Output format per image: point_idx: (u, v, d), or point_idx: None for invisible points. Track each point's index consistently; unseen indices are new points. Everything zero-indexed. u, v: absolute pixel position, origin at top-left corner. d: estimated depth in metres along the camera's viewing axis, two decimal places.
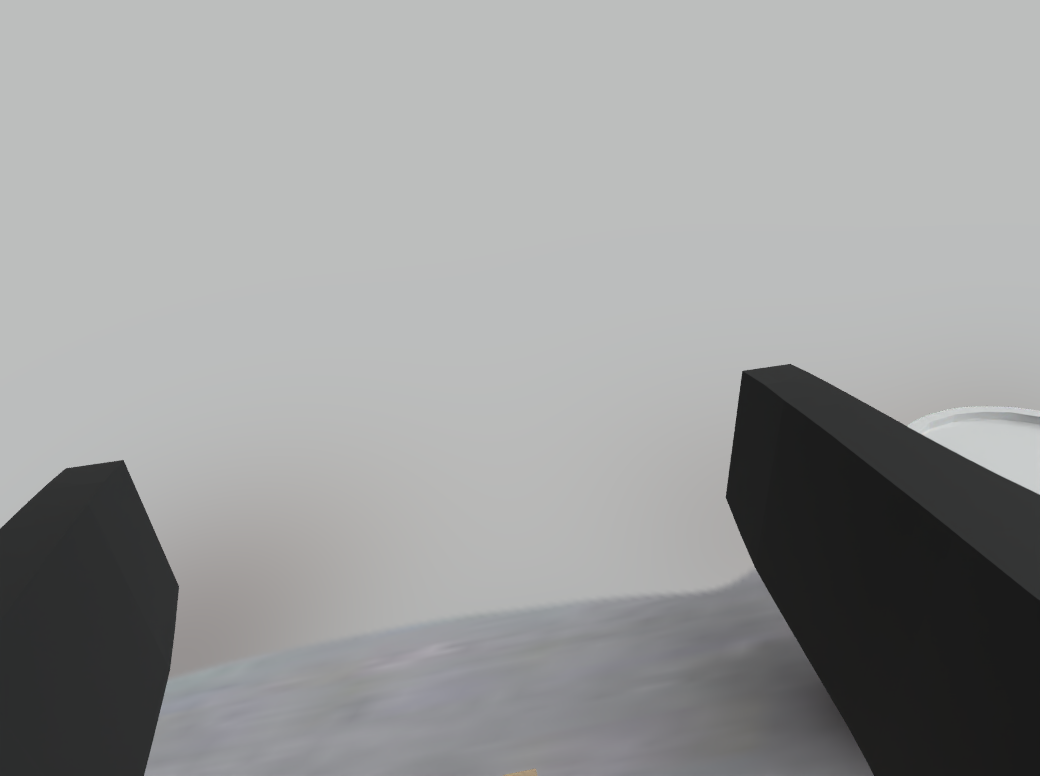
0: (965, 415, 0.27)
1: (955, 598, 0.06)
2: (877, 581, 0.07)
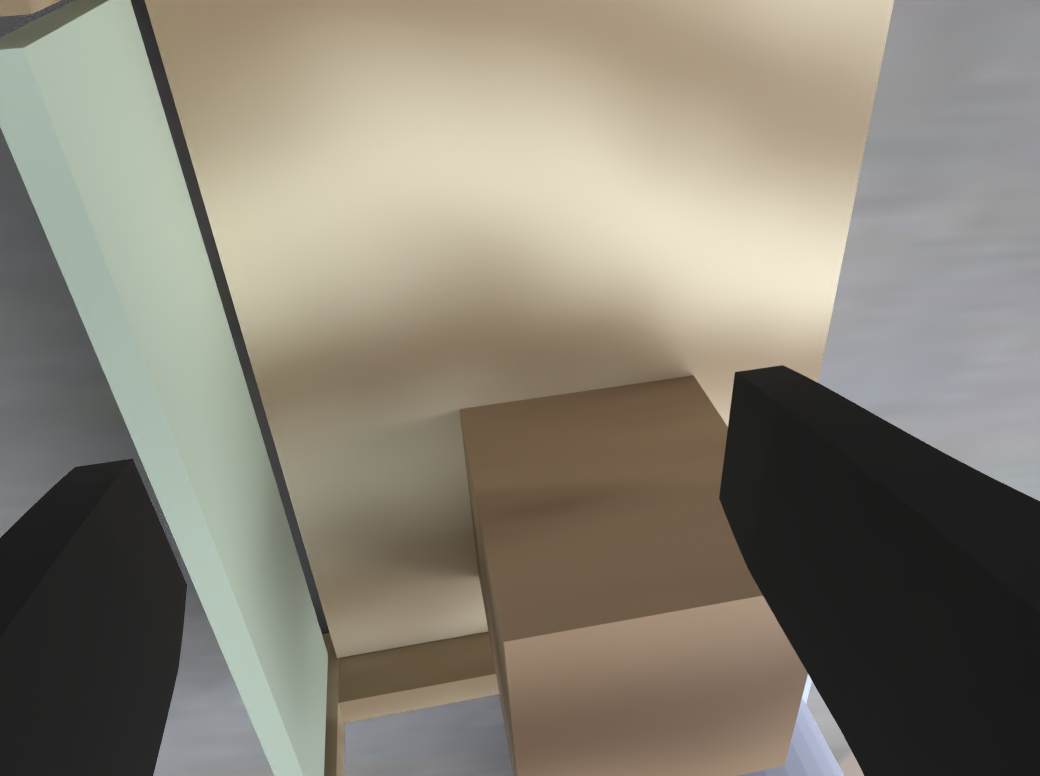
0: None
1: (944, 600, 0.06)
2: (867, 584, 0.07)
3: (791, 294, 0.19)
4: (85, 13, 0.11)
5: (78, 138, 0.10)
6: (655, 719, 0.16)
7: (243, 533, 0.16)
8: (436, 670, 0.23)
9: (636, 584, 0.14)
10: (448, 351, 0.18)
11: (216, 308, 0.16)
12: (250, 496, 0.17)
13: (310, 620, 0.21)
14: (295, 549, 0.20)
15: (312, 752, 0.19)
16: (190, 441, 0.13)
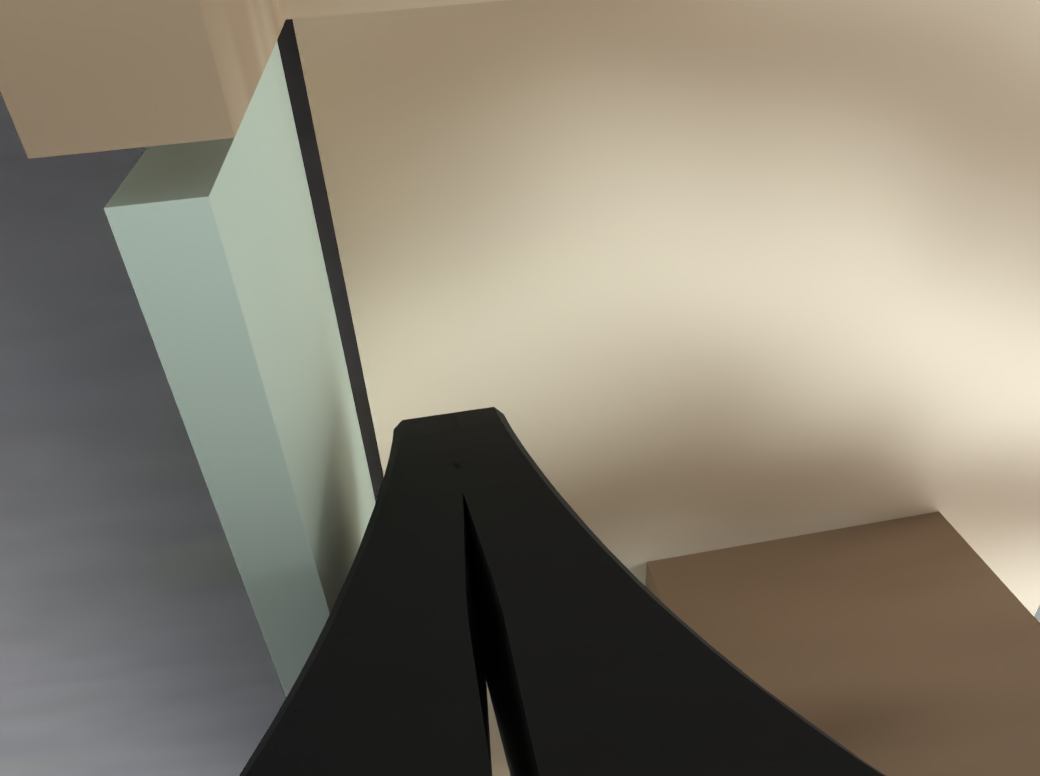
0: None
1: (512, 680, 0.06)
2: (497, 650, 0.07)
3: None
4: (253, 94, 0.07)
5: (266, 324, 0.06)
6: None
7: None
8: None
9: None
10: (645, 496, 0.14)
11: (363, 466, 0.12)
12: None
13: None
14: None
15: None
16: None
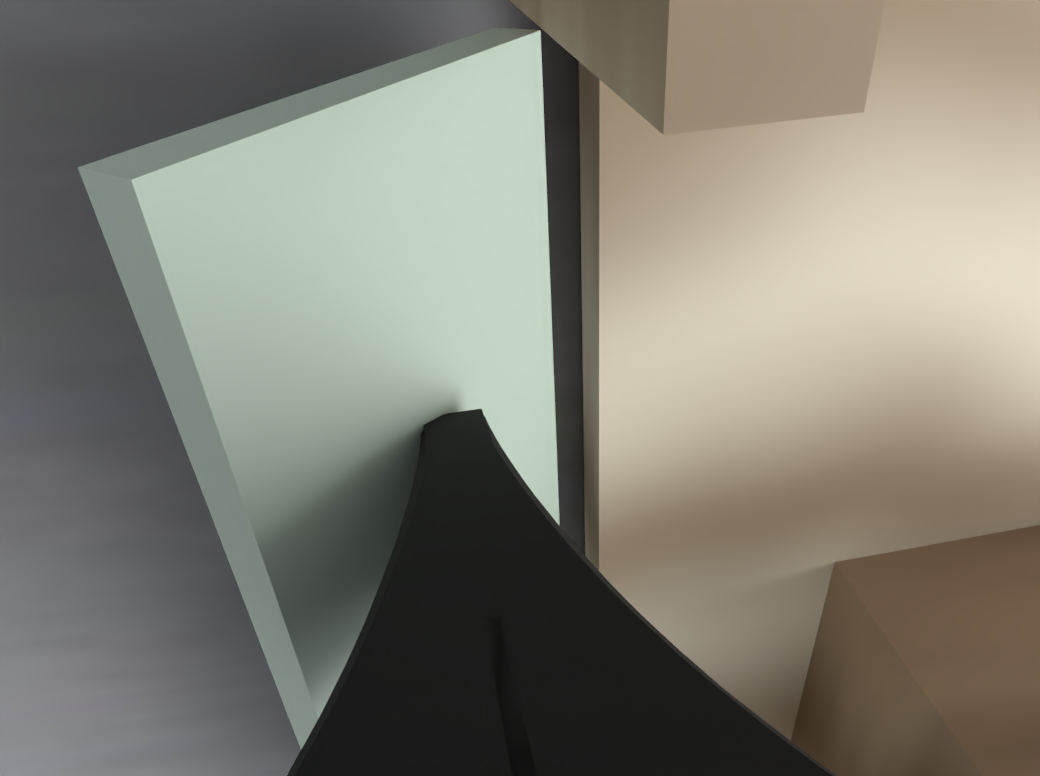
0: None
1: None
2: None
3: None
4: (389, 85, 0.07)
5: (253, 306, 0.06)
6: None
7: None
8: None
9: None
10: (846, 495, 0.14)
11: (538, 470, 0.11)
12: None
13: None
14: None
15: None
16: None
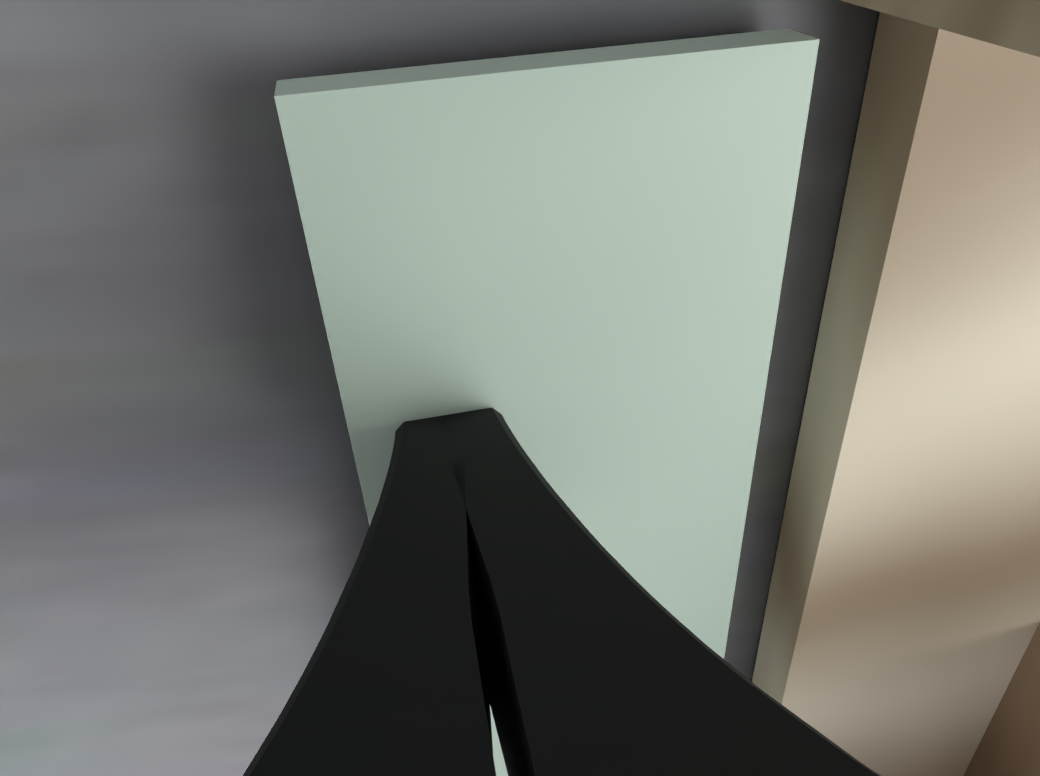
0: None
1: (509, 681, 0.06)
2: (494, 651, 0.07)
3: None
4: (565, 66, 0.07)
5: (370, 223, 0.07)
6: None
7: None
8: None
9: None
10: None
11: (713, 505, 0.11)
12: None
13: None
14: None
15: None
16: None
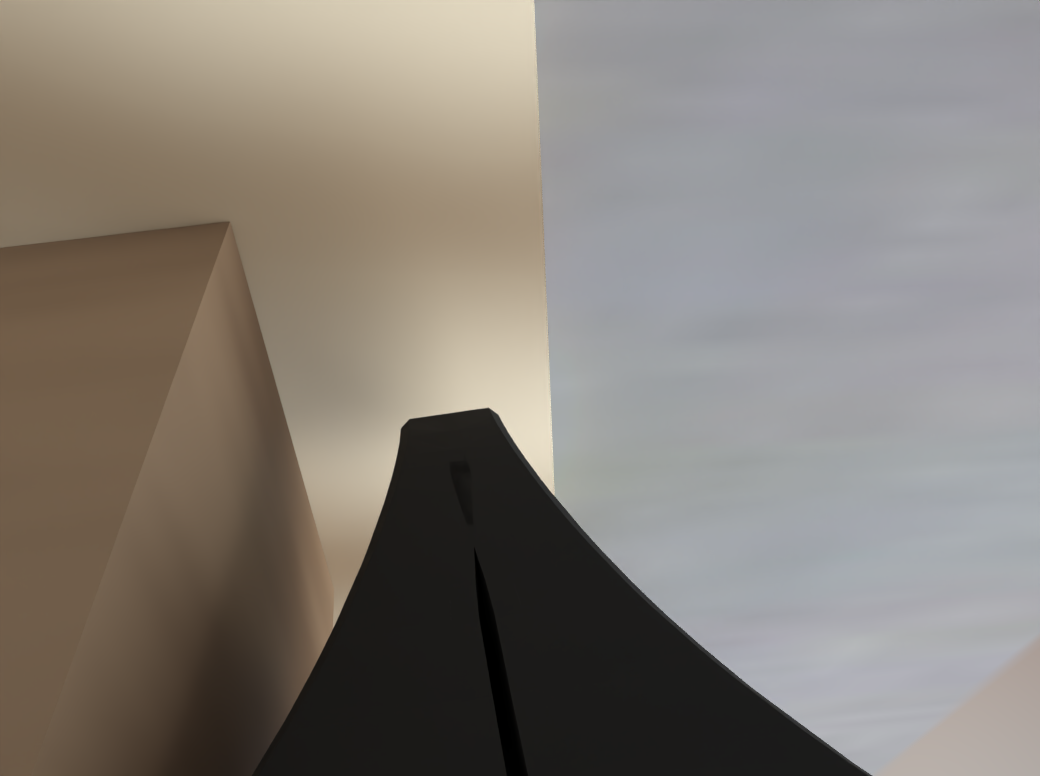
0: None
1: (504, 681, 0.06)
2: (490, 651, 0.07)
3: (417, 4, 0.08)
4: None
5: None
6: None
7: None
8: None
9: None
10: None
11: None
12: None
13: None
14: None
15: None
16: None
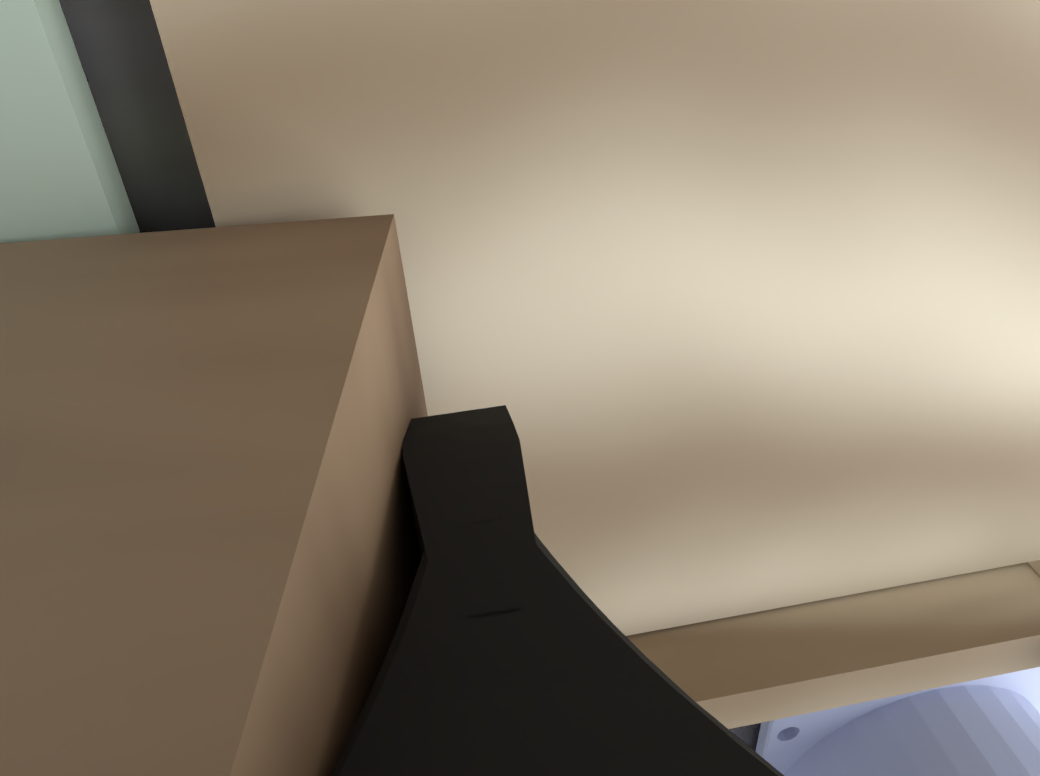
0: None
1: None
2: None
3: None
4: None
5: None
6: None
7: None
8: None
9: None
10: (594, 35, 0.08)
11: None
12: None
13: None
14: None
15: None
16: None
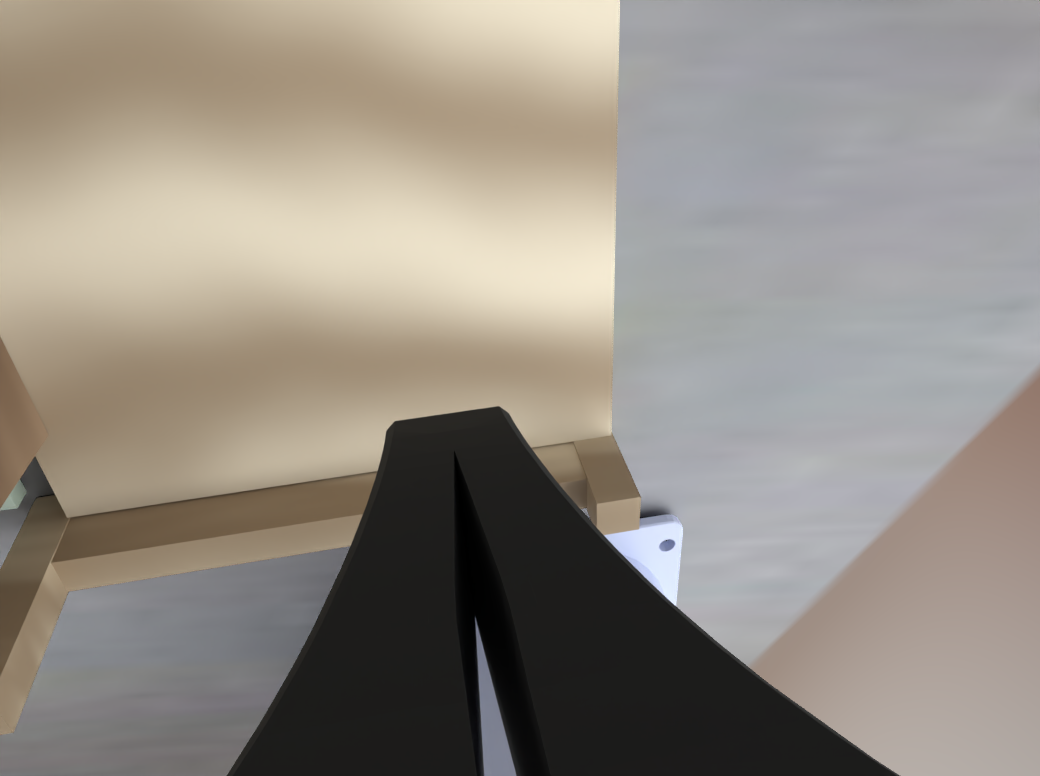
0: None
1: (520, 679, 0.06)
2: (503, 649, 0.07)
3: (560, 18, 0.15)
4: None
5: None
6: None
7: None
8: (180, 529, 0.19)
9: None
10: (110, 75, 0.14)
11: None
12: None
13: None
14: None
15: None
16: None
